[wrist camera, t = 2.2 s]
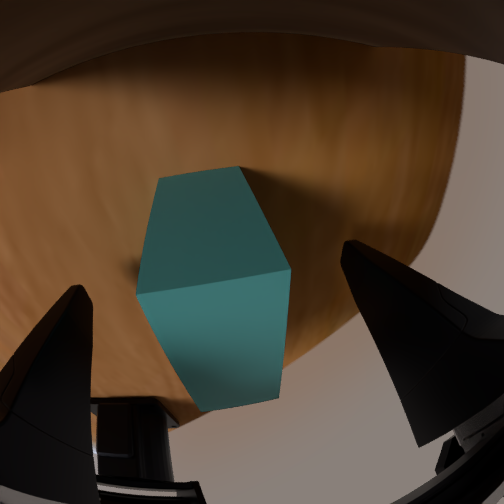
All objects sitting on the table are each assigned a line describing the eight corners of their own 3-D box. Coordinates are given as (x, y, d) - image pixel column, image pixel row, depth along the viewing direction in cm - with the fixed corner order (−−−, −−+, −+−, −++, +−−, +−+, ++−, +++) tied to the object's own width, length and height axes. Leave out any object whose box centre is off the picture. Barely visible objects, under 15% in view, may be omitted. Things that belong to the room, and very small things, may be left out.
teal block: (247, 290, 12) (278, 398, 8) (189, 300, 11) (201, 411, 7) (238, 165, 8) (291, 269, 4) (159, 177, 8) (135, 294, 4)
